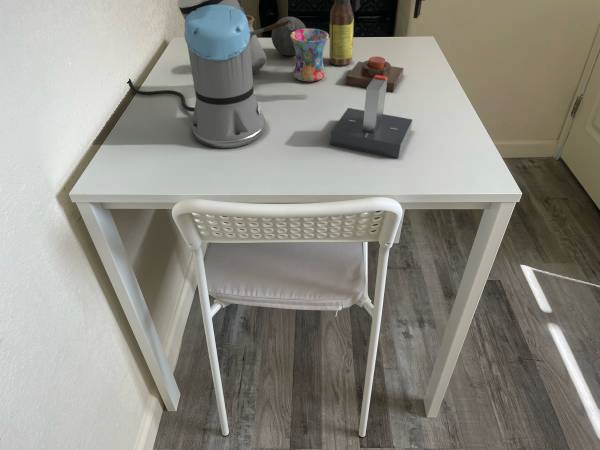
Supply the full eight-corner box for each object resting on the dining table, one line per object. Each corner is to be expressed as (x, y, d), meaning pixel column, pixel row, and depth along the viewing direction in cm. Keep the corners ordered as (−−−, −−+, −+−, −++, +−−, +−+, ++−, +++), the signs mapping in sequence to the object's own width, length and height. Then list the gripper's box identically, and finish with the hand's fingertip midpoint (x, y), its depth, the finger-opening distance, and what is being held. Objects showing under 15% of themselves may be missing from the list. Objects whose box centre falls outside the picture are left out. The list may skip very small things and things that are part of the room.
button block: (346, 84, 114) (347, 68, 112) (357, 69, 121) (359, 54, 119) (393, 92, 111) (395, 76, 108) (402, 76, 118) (404, 61, 115)
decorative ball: (313, 51, 131) (314, 15, 124) (296, 63, 124) (295, 25, 118) (284, 45, 135) (283, 9, 128) (265, 57, 128) (263, 19, 121)
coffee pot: (214, 71, 121) (206, 11, 111) (242, 57, 128) (237, 0, 118) (280, 91, 111) (278, 27, 102) (306, 75, 119) (306, 14, 109)
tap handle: (374, 133, 90) (379, 88, 84) (362, 130, 91) (366, 86, 85) (382, 119, 94) (387, 76, 88) (370, 117, 95) (375, 74, 89)
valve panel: (330, 144, 93) (331, 130, 91) (347, 120, 100) (348, 106, 98) (398, 158, 89) (400, 144, 87) (410, 132, 96) (412, 118, 94)
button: (366, 68, 113) (366, 61, 112) (370, 62, 116) (371, 55, 114) (382, 70, 112) (382, 63, 110) (386, 64, 114) (386, 57, 113)
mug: (314, 87, 113) (315, 44, 106) (284, 79, 117) (282, 36, 110) (338, 71, 120) (341, 29, 113) (309, 63, 124) (309, 23, 117)
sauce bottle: (356, 63, 124) (362, -17, 111) (338, 68, 122) (342, -13, 109) (341, 55, 128) (345, -23, 115) (323, 60, 126) (325, -19, 113)
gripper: (469, -109, 83) (447, 13, 98) (341, -111, 92) (338, 2, 106) (461, -104, 78) (439, 24, 92) (327, -107, 87) (325, 11, 101)
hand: (385, 13), depth 99 cm, fingers open, 13 cm apart
